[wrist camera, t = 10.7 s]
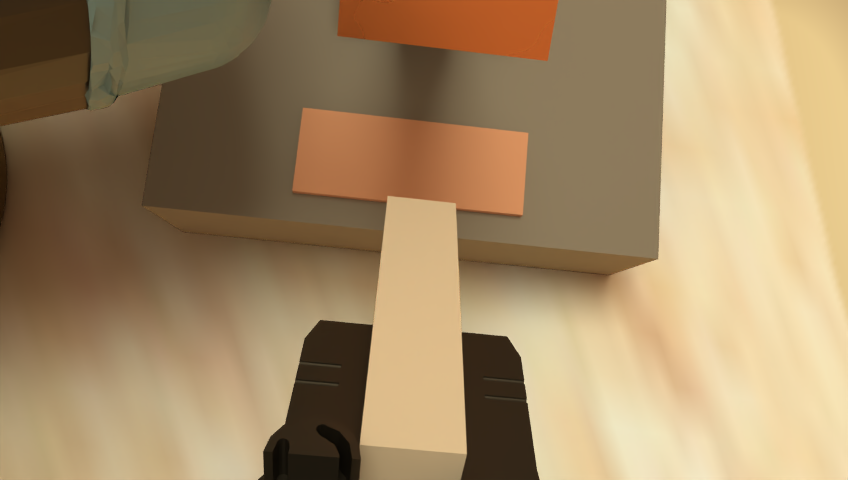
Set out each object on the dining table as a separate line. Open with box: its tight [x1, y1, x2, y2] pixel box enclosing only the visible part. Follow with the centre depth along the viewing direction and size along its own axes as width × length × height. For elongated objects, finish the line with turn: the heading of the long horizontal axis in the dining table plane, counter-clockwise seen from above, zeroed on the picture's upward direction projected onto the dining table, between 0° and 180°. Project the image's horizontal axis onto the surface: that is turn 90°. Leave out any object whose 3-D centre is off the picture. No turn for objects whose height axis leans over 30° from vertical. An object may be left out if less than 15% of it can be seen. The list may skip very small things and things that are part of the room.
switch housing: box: [142, 0, 666, 275], centre depth 26 cm, size 18×18×8 cm
